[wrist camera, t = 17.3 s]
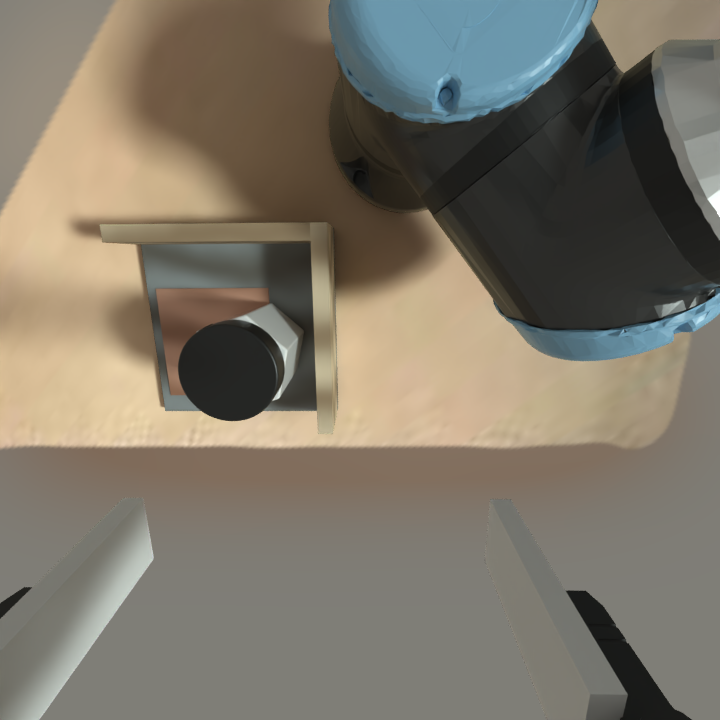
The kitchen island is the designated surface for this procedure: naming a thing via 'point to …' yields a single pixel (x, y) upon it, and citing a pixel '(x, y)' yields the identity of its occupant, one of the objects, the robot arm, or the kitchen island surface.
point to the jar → (240, 363)
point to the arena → (242, 296)
